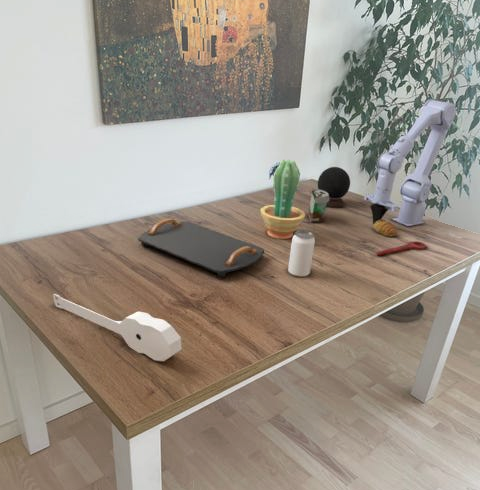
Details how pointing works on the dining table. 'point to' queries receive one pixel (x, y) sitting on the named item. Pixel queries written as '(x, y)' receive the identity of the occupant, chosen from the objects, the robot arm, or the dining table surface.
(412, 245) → the spoon
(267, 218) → the potted cactus
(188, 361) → the dining table surface
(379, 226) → the pastry
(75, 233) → the dining table surface
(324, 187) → the black ball on stand
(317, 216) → the food container
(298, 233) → the can
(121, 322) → the white toy guitar
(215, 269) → the serving tray
